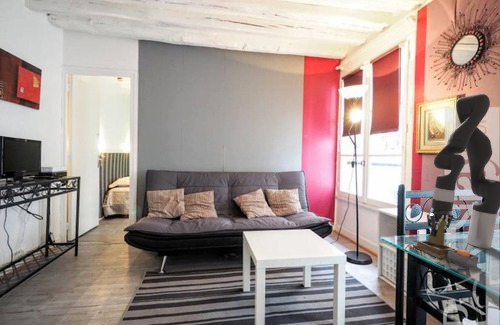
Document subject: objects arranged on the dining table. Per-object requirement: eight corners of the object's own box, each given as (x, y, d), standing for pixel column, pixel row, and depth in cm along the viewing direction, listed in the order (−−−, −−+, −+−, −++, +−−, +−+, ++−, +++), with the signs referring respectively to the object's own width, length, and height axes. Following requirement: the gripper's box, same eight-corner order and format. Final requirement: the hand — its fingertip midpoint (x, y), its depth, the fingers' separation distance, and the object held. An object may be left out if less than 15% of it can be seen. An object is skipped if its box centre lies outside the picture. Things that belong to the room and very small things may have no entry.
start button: (460, 256, 109) (461, 248, 109) (470, 261, 106) (472, 253, 105) (453, 257, 108) (455, 249, 108) (464, 262, 104) (465, 253, 104)
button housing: (458, 258, 112) (459, 249, 111) (476, 266, 105) (478, 257, 105) (446, 259, 109) (448, 250, 109) (465, 268, 103) (467, 258, 102)
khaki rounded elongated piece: (446, 246, 114) (451, 221, 113) (431, 243, 115) (435, 219, 114) (439, 241, 119) (443, 217, 118) (425, 238, 121) (428, 215, 120)
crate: (431, 245, 125) (432, 239, 125) (458, 256, 114) (459, 249, 113) (412, 246, 121) (413, 240, 121) (439, 258, 110) (440, 251, 109)
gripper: (445, 197, 121) (439, 232, 123) (423, 196, 116) (417, 234, 118) (463, 201, 114) (456, 239, 116) (440, 201, 109) (433, 240, 111)
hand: (436, 236), depth 117 cm, fingers closed on khaki rounded elongated piece, 4 cm apart
